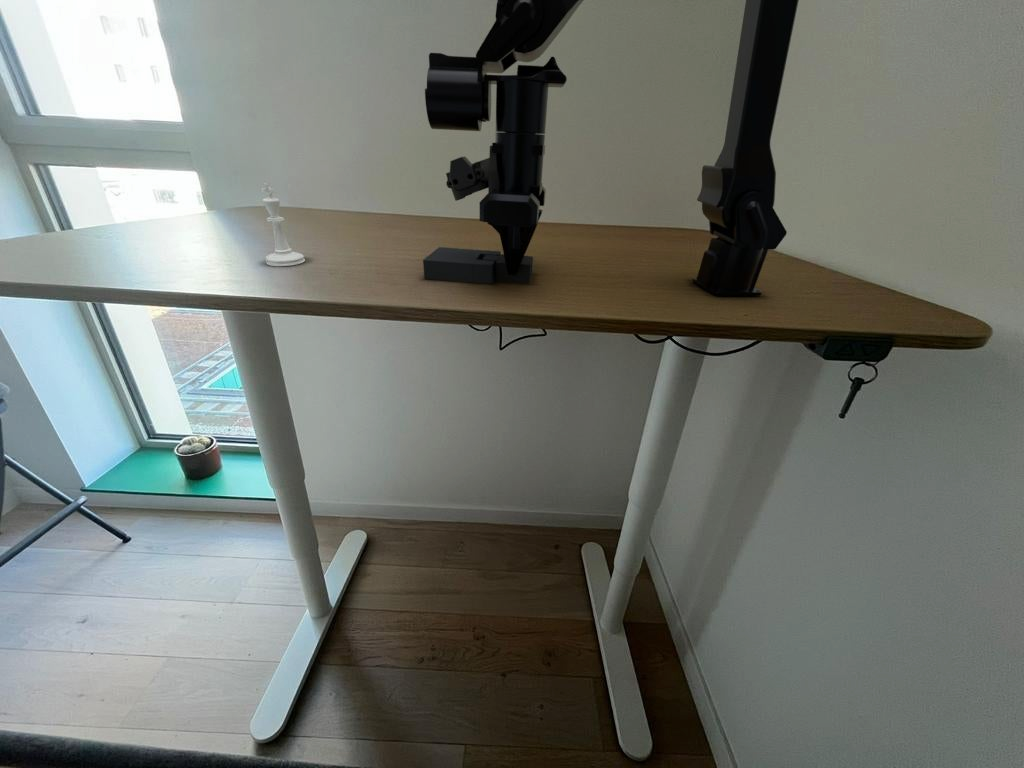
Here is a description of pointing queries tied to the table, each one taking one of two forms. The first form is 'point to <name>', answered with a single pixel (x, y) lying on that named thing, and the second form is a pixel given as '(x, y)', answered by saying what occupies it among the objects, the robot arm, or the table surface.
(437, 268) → the charcoal pad
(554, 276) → the table surface
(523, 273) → the dark grey block
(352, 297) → the table surface
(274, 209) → the chess piece
